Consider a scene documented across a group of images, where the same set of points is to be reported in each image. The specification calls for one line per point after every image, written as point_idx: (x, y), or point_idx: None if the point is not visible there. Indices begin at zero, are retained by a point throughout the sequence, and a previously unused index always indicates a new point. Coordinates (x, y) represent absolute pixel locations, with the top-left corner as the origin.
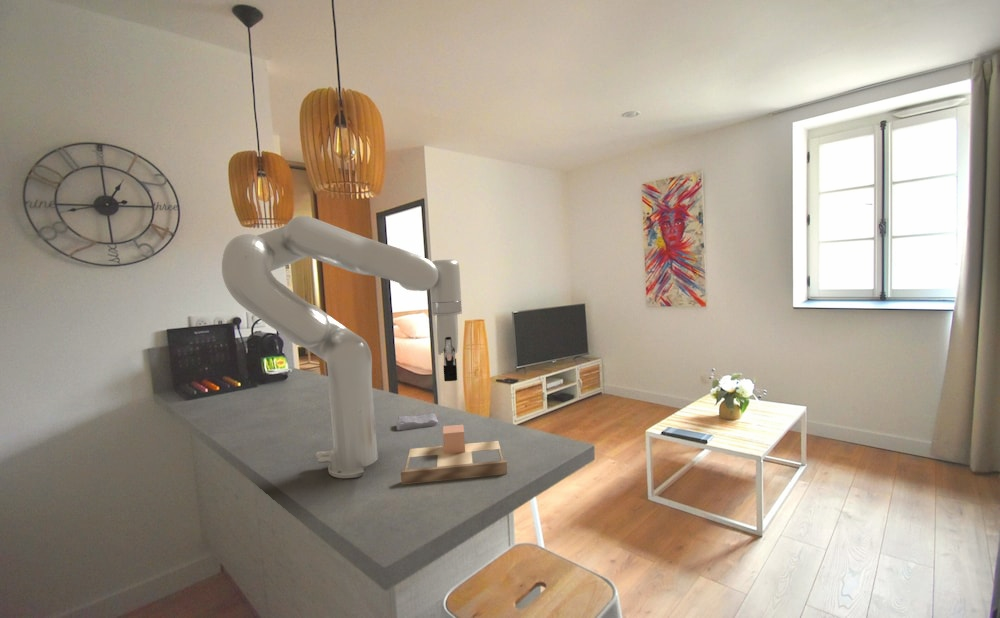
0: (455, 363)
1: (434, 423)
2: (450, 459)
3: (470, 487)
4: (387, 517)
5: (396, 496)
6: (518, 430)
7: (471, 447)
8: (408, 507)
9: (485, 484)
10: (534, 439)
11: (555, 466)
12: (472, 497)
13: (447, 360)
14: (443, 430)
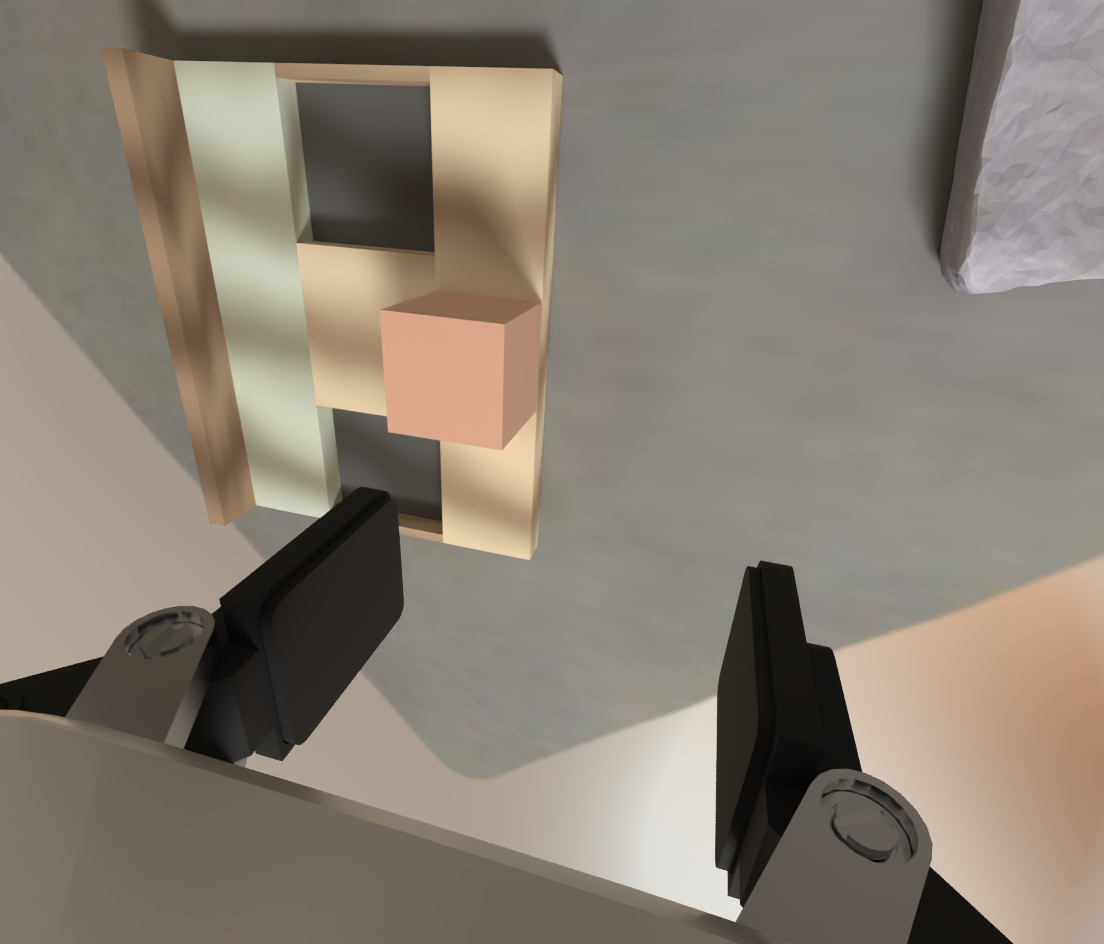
0: (716, 802)
1: (955, 259)
2: (370, 316)
3: None
4: (12, 22)
5: (143, 42)
6: (695, 674)
7: None
8: (79, 111)
9: None
10: (568, 684)
11: None
12: (158, 358)
13: (21, 710)
14: (431, 318)
